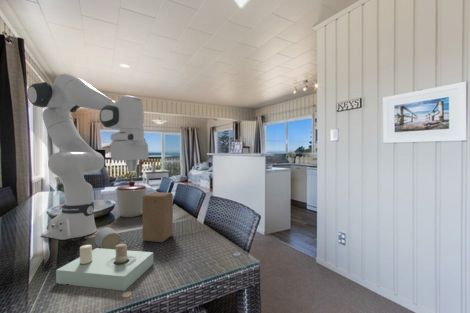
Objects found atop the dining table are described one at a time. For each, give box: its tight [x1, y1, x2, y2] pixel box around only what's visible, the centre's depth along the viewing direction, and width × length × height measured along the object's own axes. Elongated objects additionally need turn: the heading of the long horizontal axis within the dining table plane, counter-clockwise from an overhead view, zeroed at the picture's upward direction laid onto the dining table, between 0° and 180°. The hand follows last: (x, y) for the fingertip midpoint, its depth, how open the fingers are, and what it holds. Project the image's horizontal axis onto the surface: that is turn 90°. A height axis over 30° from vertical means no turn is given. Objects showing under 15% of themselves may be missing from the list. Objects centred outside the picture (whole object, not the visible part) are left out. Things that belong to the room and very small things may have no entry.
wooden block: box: [141, 191, 174, 243], centre depth 106 cm, size 10×10×20 cm
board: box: [55, 244, 154, 291], centre depth 75 cm, size 22×16×9 cm
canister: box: [114, 180, 148, 218], centre depth 144 cm, size 18×18×21 cm
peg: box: [115, 243, 128, 265], centre depth 75 cm, size 3×3×9 cm
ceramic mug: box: [94, 226, 127, 250], centre depth 96 cm, size 11×8×8 cm
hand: (131, 171), depth 94 cm, fingers closed
